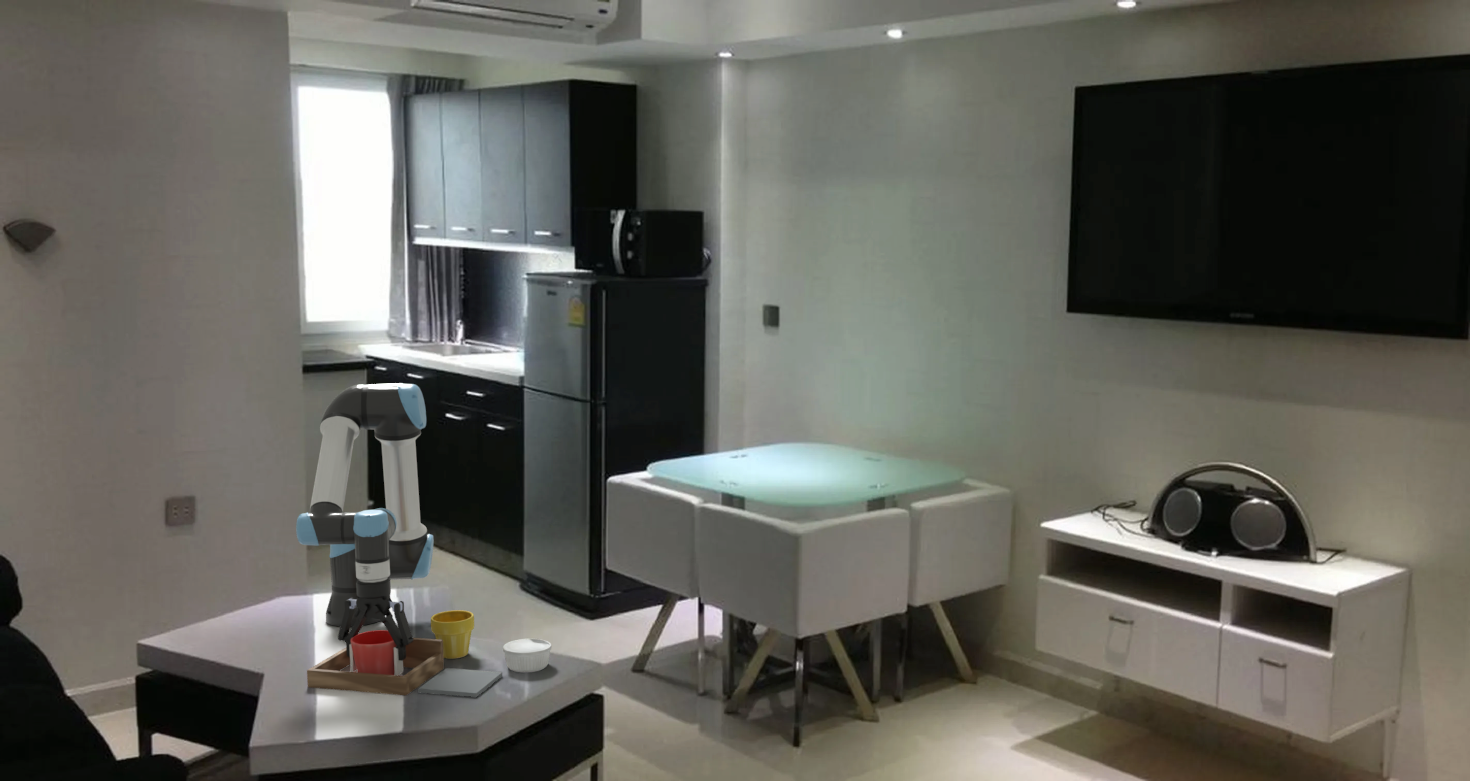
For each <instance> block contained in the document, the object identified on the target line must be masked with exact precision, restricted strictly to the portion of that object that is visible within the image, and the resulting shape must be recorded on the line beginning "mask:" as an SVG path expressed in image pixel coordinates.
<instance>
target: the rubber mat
mask: <svg viewBox="0 0 1470 781" xmlns="http://www.w3.org/2000/svg"><path fill="white" fill-rule="evenodd" d="M499 678H500V679H502V678H503V672H502V671H490V670H489V671H487V670H475V669H467V668H466V669H463V668H452V667H451V668H449V667H446V668H445V669H442V670H441V671H440V672H438V673H437V674H435V675H434V676H433V677H431V678H430V679H429V680H427V681H426V682H424V683H423V684H422V685H420V686H419V687H417V691H418V692H419V694H427V693H434V694H433V695H440V694H446V695H445V696H452V695H457V696H456V697H464V696H471V697H470V698H476V697H477V696H478V695H479V694H480V695H481V693H482V692H483V693H484V692H485V691H487V690H488V689H489V688H491V686H492V684H493V683H494V682H495V681H496V682H497V681H499V680H500V679H499ZM498 679H499V680H498ZM496 682H495V683H496ZM495 683H494V684H495ZM494 684H493V685H494ZM490 685H491V686H490ZM488 687H489V688H488ZM487 688H488V689H487ZM418 692H417V693H418ZM420 692H421V693H420ZM483 693H482V694H483ZM458 695H460V696H458ZM480 695H479V696H480ZM479 696H478V697H479ZM478 697H477V698H478Z"/></svg>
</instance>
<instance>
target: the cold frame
mask: <svg viewBox="0 0 1470 781" xmlns="http://www.w3.org/2000/svg"><path fill="white" fill-rule="evenodd" d="M444 665H445V664H444V658H443V640H440V639H436V638H427V637H426V638H424V637H413V642H412V643H410V644H408V645H406V658H405V659H404V660H403V668H408V669H412V670H410V671H408V672H407V673H405V674H404V675H395V674H394V675H385V674H373V673H360V672H358V671H354V672H350V671H346V670H345V668H347V667H350V657H348V656H347V650H346V647H344V648H342V649H341V650H339V651H337V652H335V653H333V654H332V655H331V656H329V657H327V658H325V659H324V660H322V661H320V662H318V663H317V664H315V665H313V666H312V667H309V668H308V669H306V678H307V679H306V680H307V688H310V689H311V688H312V689H322V690H323V689H324V690H325V689H326V690H336V691H347V692H361V693H372V694H382V695H383V694H385V695H395V696H396V695H397V696H408V695H409V694H411V693H412V692H413V691H415V690H416V689H418V688H420V687H421V686H422V685H424V684H425V683H426V682H428V681H429V680H431V679H432V678H433V677H435V676H436V675H437V674H439V673H440V672H442V671H443V670H444V669H443V668H445V667H444ZM425 681H426V682H425ZM421 684H422V685H421ZM410 692H411V693H410Z"/></svg>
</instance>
